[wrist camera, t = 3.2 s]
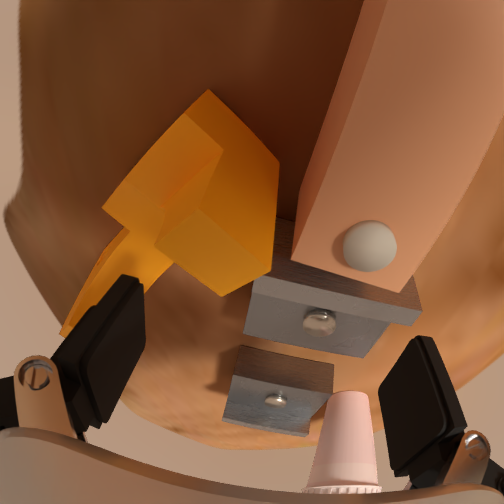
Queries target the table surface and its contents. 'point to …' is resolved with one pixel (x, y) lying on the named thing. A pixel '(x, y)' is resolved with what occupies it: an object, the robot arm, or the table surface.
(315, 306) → the book ends
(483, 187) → the table surface
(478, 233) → the table surface
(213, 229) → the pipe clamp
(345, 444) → the pink drink cup
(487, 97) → the peach two-stud bar
